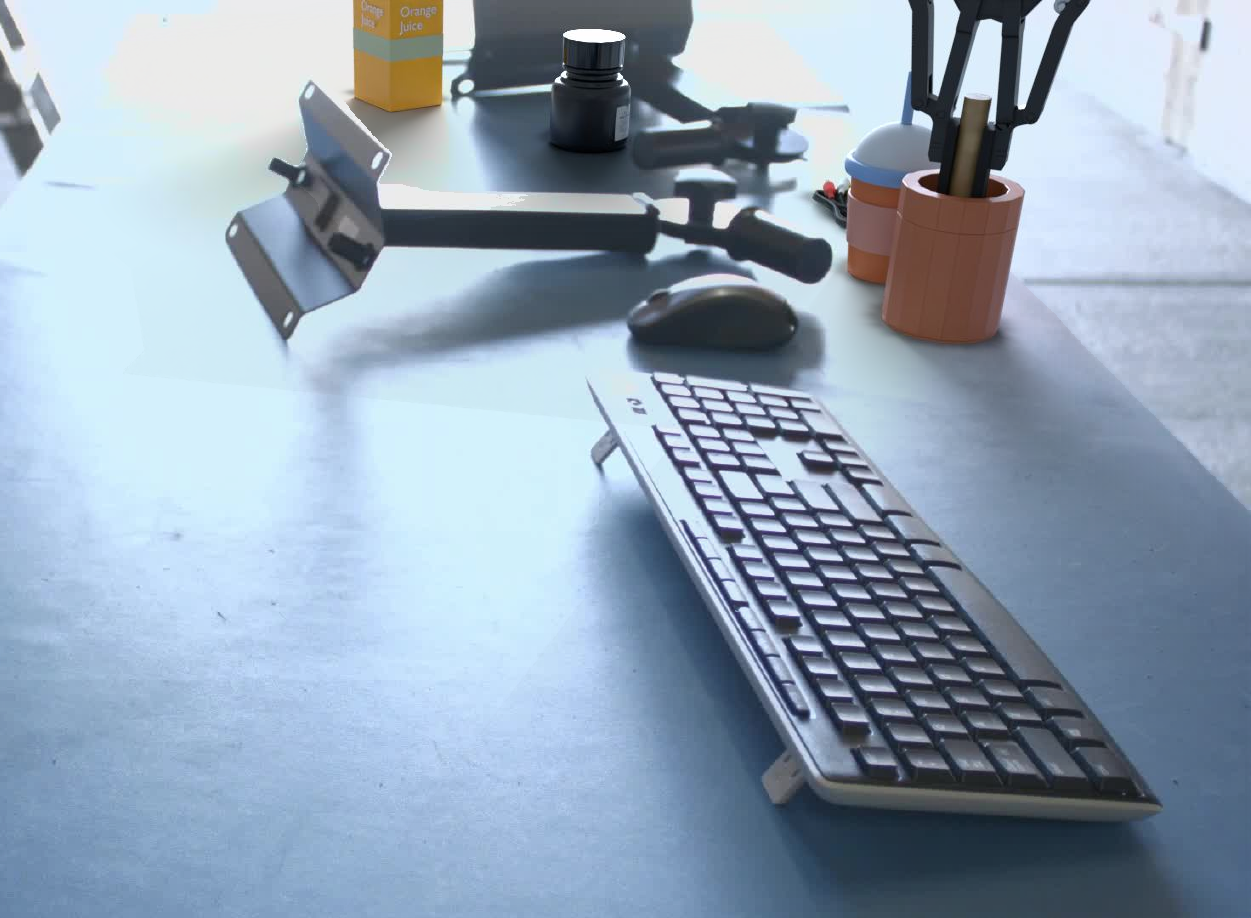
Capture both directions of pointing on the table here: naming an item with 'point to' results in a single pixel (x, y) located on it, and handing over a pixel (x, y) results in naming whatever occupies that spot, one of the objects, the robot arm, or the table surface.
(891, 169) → the cup with straw
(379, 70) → the orange juice
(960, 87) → the robot arm
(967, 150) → the brass-colored tamper
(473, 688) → the table surface
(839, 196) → the composite cable
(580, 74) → the ink bottle
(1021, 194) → the jar
